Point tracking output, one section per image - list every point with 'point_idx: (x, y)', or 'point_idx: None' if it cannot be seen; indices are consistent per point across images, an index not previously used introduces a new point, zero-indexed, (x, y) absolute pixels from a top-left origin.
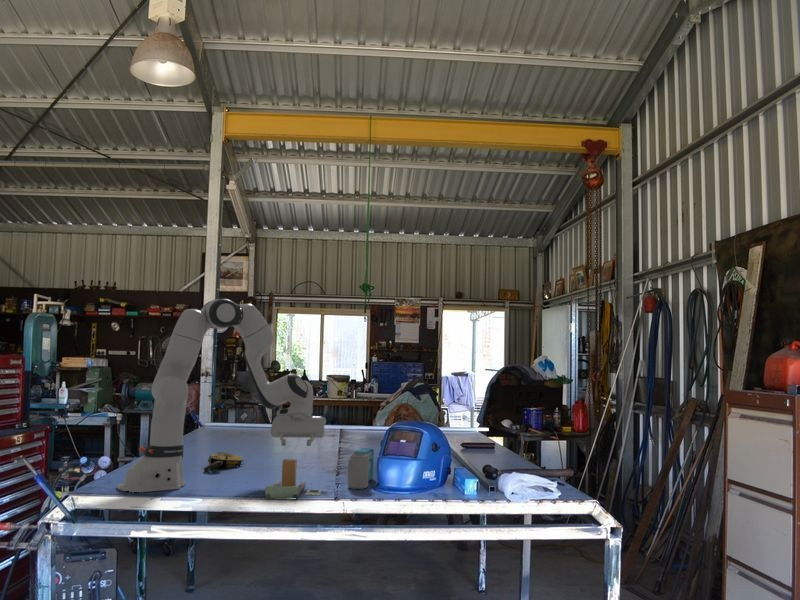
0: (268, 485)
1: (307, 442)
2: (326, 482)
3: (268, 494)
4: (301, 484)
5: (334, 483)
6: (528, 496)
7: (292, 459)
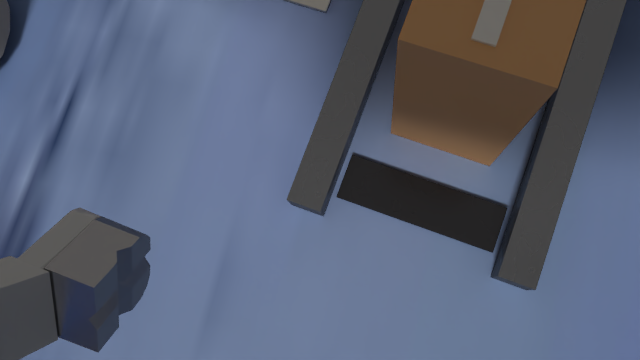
0: None
1: (125, 232)
2: None
3: None
4: (353, 76)
5: None
6: None
7: (451, 54)
